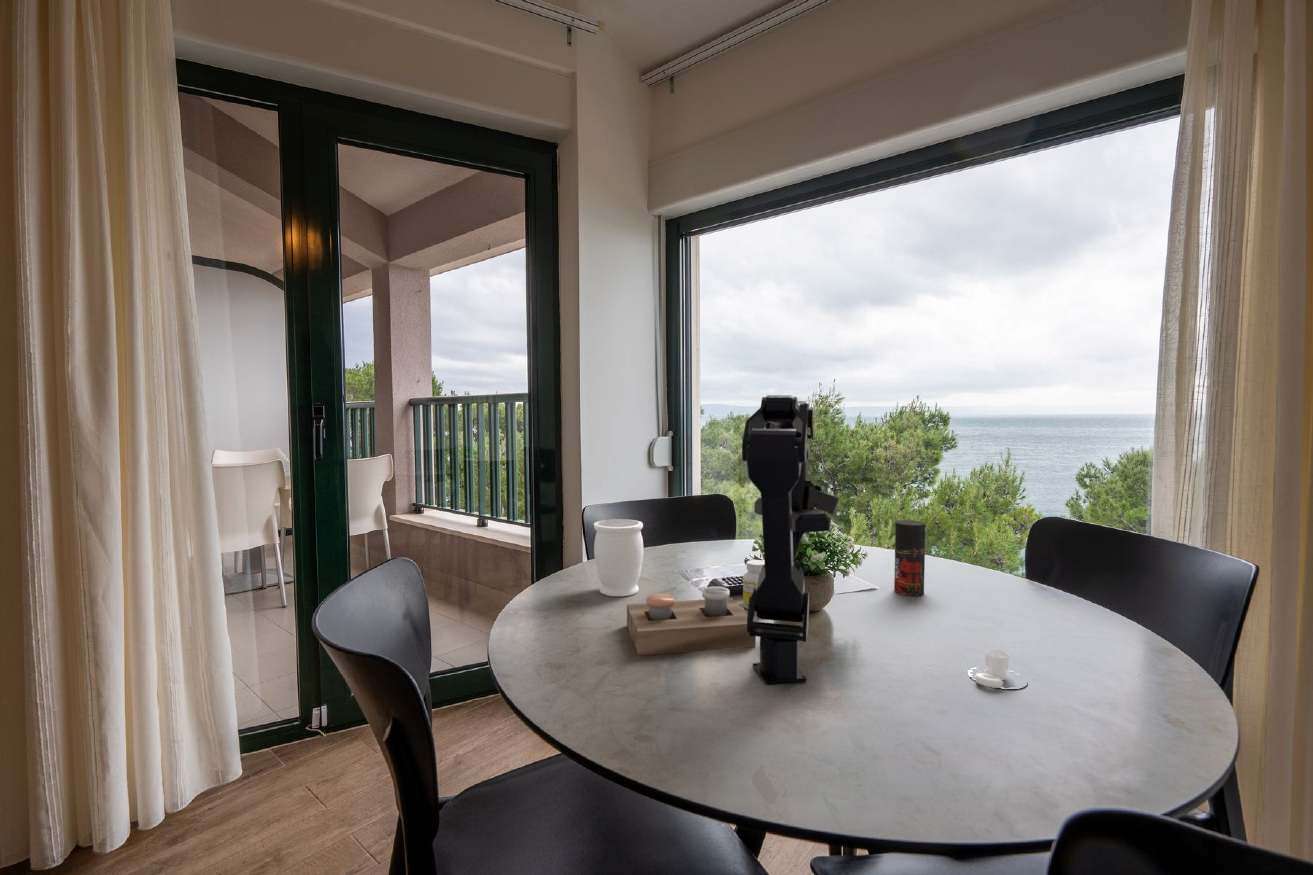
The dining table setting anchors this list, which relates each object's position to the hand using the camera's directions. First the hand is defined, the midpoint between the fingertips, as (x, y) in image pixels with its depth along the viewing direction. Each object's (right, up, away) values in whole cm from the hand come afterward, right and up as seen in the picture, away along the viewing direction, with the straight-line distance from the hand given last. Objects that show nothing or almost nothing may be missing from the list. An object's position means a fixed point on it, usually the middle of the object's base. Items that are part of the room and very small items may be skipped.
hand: (789, 562), depth 113 cm
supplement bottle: (-4, -13, +13) cm, 19 cm away
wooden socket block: (-18, -13, +1) cm, 22 cm away
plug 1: (-23, -10, 0) cm, 25 cm away
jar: (-31, -12, +27) cm, 43 cm away
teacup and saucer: (+24, -15, -16) cm, 33 cm away
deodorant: (+31, -12, +25) cm, 42 cm away
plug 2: (-13, -9, +1) cm, 16 cm away
